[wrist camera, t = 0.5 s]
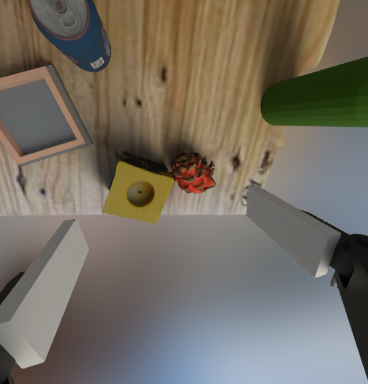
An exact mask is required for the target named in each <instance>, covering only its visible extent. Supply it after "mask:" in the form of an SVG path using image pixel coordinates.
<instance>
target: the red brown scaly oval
mask: <svg viewBox="0 0 368 384" xmlns="http://www.w3.org/2000/svg"><path fill="white" fill-rule="evenodd" d="M193 153H194V155H193ZM193 153H189V154H187V153H182V154H181V156H180V155H179V156H177V157H176V159H175V160H176V161H174V160H173V161H172V162H171V167H172V169H173V172H169V173H170V174H171V175H172V176H173V178H174V181H177V182H178V185H179V187H180V188H181V189H182V190H185V191H186V192H187V193H191V192H193V193H203V192H205V190H207V189H209V188H212V187H214V186H215V185H216V183H215V181H214V179H213V178H212V175H213V170H214V168H212V165H213V166H215V165H214V163H213V162H212V161H211V163H210V165H209V166H208V167H206V165H207V159H206V158H202V157H199V153H198V152H193ZM201 159H202V160H201ZM211 168H212V170H211Z"/></svg>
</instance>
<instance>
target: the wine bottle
mask: <svg viewBox="0 0 368 384" xmlns="http://www.w3.org/2000/svg"><path fill="white" fill-rule="evenodd" d="M261 111H262V115H263V118H264V119H265V121H266V122H268V123H269V124H271V125H283V126H285V125H287V126H332V127H368V57H364V58H361V59H358V60H354V61H351V62H347V63H344V64H340V65H337V66H334V67H330V68H327V69H323V70H320V71H317V72H313V73H310V74H306V75H303V76H299V77H296V78H293V79H289V80H286V81H282V82H279V83H276V84H275V85H273V86H272V87H271V88H270V89H269V90H268V91H267V92H266V94H265V96H264V98H263V101H262V106H261Z"/></svg>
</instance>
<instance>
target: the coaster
mask: <svg viewBox="0 0 368 384" xmlns="http://www.w3.org/2000/svg"><path fill="white" fill-rule="evenodd" d="M0 140H1V142H2V143H3V144H4V146H5V147H6V148H7V150H8V151H9V153H10V154H11V155H12V157H13V158H14V159H15V161H16V162H17V164H21V165H22V166H24V165H27V164H30V163H34V162H37V161H40V160H43V159H46V158H49V157H53V156H56V155H59V154H62V153H65V152H68V151H72V150H75V149H78V148H81V147H84V146H87V145H90V144H93V142H92V140H91V138H90V136H89V134H88V132H87V130H86V128H85V126H84V124H83V122H82V120H81V118H80V116H79V114H78V112H77V110H76V108H75V106H74V104H73V102H72V100H71V98H70V96H69V94H68V92H67V90H66V88H65V86H64V84H63V82H62V80H61V78H60V76H59V74H58V72H57V70H56V68H55V67H54V66H53V65H47V66H44V67H40V68H36V69H32V70H29V71H25V72H21V73H17V74H13V75H10V76H6V77H2V78H0Z"/></svg>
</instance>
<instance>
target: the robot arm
mask: <svg viewBox="0 0 368 384" xmlns="http://www.w3.org/2000/svg"><path fill="white" fill-rule="evenodd" d="M246 216H247V217H249V218H250V219H251V220H252V221H253V222H254V223H255V224H256V225H257V226H258V227H260V228H261V229H262V230H263V231H264V232H265V233H266V234H267V235H268V236H269V237H271V238H272V239H273V240H274V241H275V242H276V243H277V244H278V245H280V246H281V247H282V248H283V249H284V250H285V251H286V252H287V253H288V254H289V255H290V256H292V257H293V258H294V259H295V260H296V261H297V262H298V263H299V264H300V265H302V266H303V267H304V268H305V269H306V270H307V271H308V272H309V273H310V274H311V275H313V276H314V277H315V278H316V277H319V276H322V275H325V274H327V271H328V269H329V266H331V267H332V268H334V269H335V273H334V275H333V278H332V280H331V286H334V283H335V282H336V283H337V288H338V289H339V292H340V295H341V298H342V301H343V304H344V307H345V311H346V313H347V317H348V320H349V323H350V326H351V329H352V332H353V336H354V339H355V341H356V345H357V348H358V351H359V354H360V357H361V360H362V364H363V367H364V369H365V373H366V376H367V379H368V236H366V235H361V234H351V235H349V234H347V233H345V232H343V231H341V230H340V229H338V228H336V227H334V226H332V225H331V224H329V223H327V222H324V221H323V220H322V219H320V218H317V217H316V216H314V215H312V214H311V213H309V212H305V211H303V210H299V209H297V208H295V207H294V206H292V205H290V204H289V203H287V202H285V201H283V200H281V199H280V198H278V197H276V196H274V195H273V194H271V193H269V192H267V191H266V190H264V189H262V188H260V187H258V186H252V187H248V200H247V213H246ZM88 250H89V249H88V246H87V244H86V241H85V239H84V236H83V234H82V231H81V229H80V226H79V224H78V222H77V219H72V220H66V221H64V222H63V223H62V224H61V226H60V227H59V228H58V230H57V231H56V232H55V234H54V235H53V236H52V238H51V239H50V240H49V241H48V243H47V244H46V246H45V247H44V248H43V249H42V251H41V252H40V254H39V255H38V256H37V257H36V259H35V260H34V261H33V263H32V264H31V265H30V267H29V268H28V269H27V271H25V272H21V273H19V274H18V275H17V276H16V277H15V278H13V279H12V280H11V281H10V282H9V283H8V284H7V285H6V286H5V288H4V289H3V290H2V291H1V292H0V384H14V381H13V378H12V376H11V375H10V374H9V372H10V371H11V368H12V367H13V365H14V363H15V361H16V362H17V364H18V365H19V366H20V367H22V369H23V368H26V367H30V366H33V365H36V364H39V363H42V362H44V361H45V359H46V356H47V354H48V351H49V348H50V346H51V343H52V341H53V338H54V336H55V333H56V331H57V328H58V326H59V323H60V321H61V318H62V316H63V313H64V311H65V308H66V306H67V303H68V301H69V298H70V296H71V293H72V291H73V288H74V286H75V283H76V280H77V278H78V275H79V273H80V270H81V268H82V265H83V263H84V261H85V258H86V255H87V253H88Z"/></svg>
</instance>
